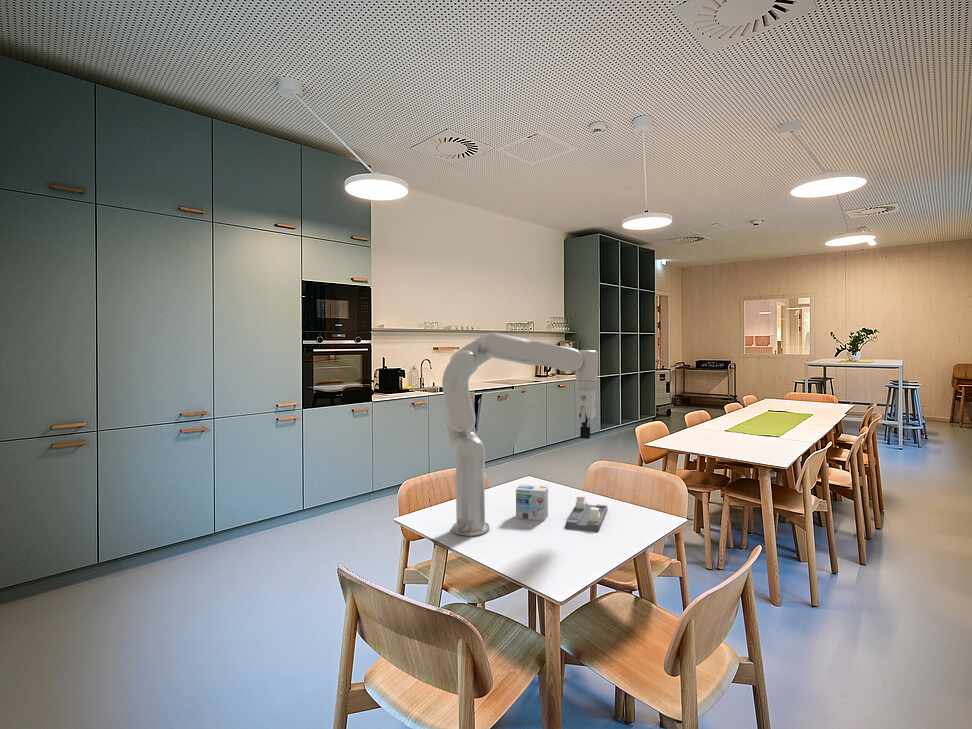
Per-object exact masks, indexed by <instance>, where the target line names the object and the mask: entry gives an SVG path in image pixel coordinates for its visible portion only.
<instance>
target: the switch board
mask: <svg viewBox="0 0 972 729" xmlns="http://www.w3.org/2000/svg"><path fill="white" fill-rule="evenodd" d="M591 507H594V508H599V513H600V520H599V523H596V522H589V516H590V509H591ZM608 510H609V509H608V504H588V503H587V502H586V506H585V508H584V509H579V508H576V504H575V505H574V507H573V508H572V510H571V512H570V513H569V515H568V516H567V518H566V519H565V520H566V522H565V528H566V529H571V530H572V529H573V530H579V531H580V530H581V531H590V532H591V531H592V532H597V533H598V532H600V530H601V527H602V524H603V522H604V520H605V517H606V516H607V513H608Z"/></svg>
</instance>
